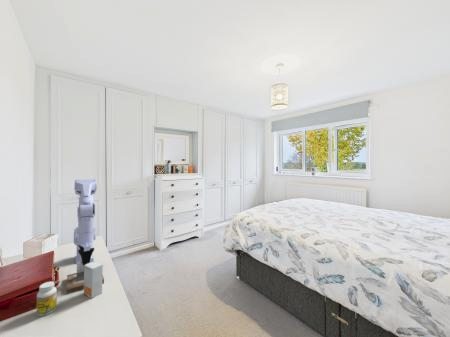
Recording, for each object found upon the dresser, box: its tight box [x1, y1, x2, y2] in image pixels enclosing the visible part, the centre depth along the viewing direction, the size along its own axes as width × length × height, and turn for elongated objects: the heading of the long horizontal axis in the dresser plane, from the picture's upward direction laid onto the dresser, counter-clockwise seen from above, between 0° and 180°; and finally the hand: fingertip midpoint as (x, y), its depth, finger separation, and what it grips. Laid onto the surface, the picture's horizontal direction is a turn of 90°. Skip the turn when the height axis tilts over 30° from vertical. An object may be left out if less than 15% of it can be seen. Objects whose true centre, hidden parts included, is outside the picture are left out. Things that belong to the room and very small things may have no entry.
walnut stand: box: [66, 272, 105, 295], centre depth 90 cm, size 13×13×2 cm
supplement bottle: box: [36, 281, 58, 317], centre depth 71 cm, size 5×5×10 cm
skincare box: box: [83, 260, 104, 299], centre depth 82 cm, size 6×4×12 cm
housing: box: [76, 258, 95, 281], centre depth 90 cm, size 6×4×7 cm, turn 129°
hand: (85, 261), depth 90 cm, fingers open, 7 cm apart
